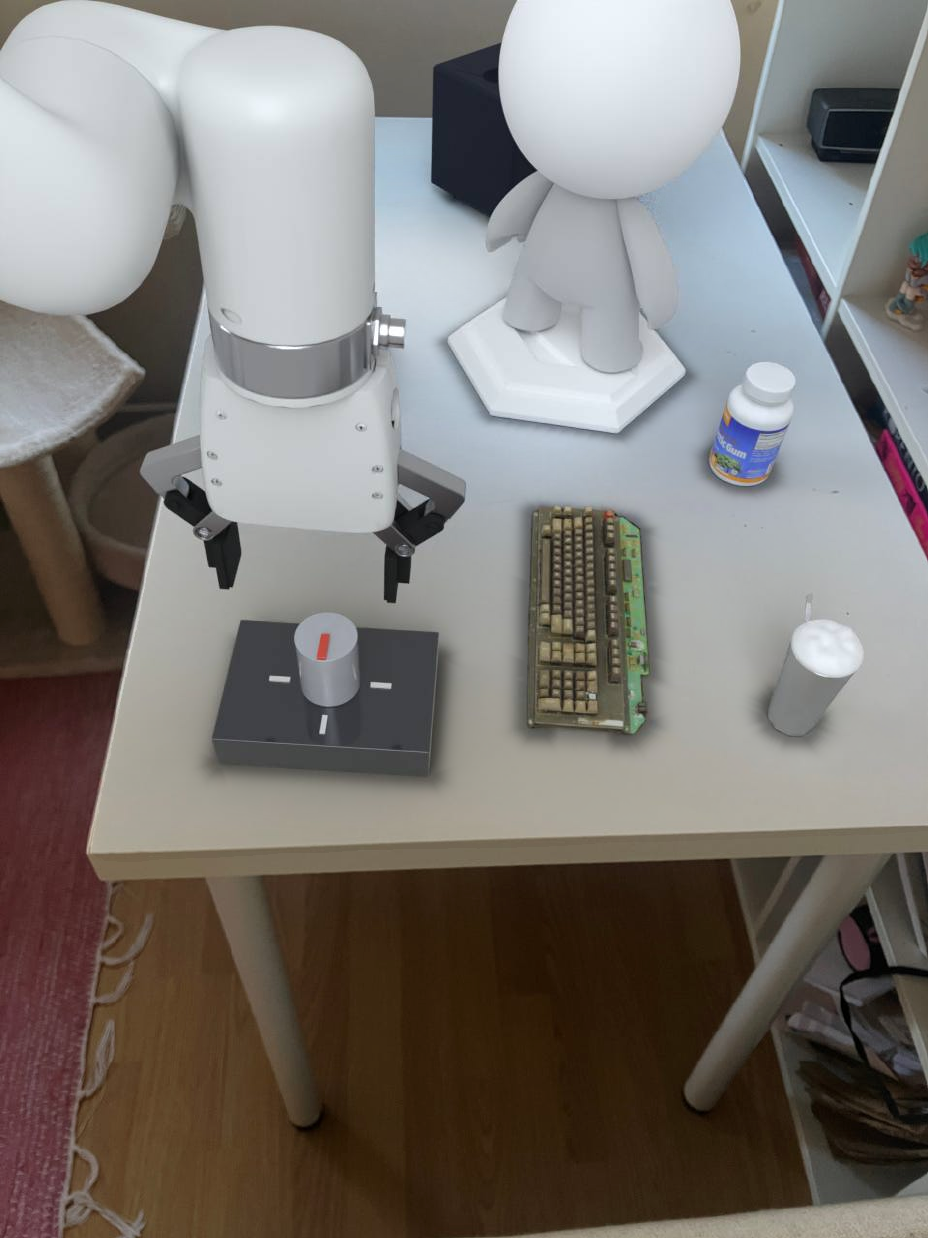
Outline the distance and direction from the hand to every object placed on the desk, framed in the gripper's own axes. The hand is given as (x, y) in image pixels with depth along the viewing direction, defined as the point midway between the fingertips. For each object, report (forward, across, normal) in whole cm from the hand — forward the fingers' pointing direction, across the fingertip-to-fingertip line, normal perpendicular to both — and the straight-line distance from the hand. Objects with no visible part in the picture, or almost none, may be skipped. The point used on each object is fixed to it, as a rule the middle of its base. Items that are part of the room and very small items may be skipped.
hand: (311, 578), depth 60 cm
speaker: (+13, -14, -75) cm, 77 cm away
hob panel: (+13, -1, 0) cm, 13 cm away
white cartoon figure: (+13, -18, -42) cm, 47 cm away
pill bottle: (+12, -33, -28) cm, 45 cm away
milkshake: (+12, -33, -2) cm, 35 cm away
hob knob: (+10, -1, 0) cm, 10 cm away
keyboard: (+13, -19, -10) cm, 25 cm away
